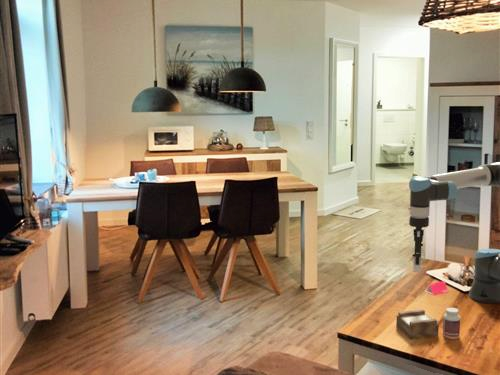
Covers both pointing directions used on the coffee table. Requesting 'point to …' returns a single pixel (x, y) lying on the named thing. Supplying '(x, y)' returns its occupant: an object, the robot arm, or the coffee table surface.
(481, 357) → the coffee table surface
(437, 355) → the coffee table surface
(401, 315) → the brown square open box
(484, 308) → the coffee table surface
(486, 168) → the robot arm
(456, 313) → the pill bottle
